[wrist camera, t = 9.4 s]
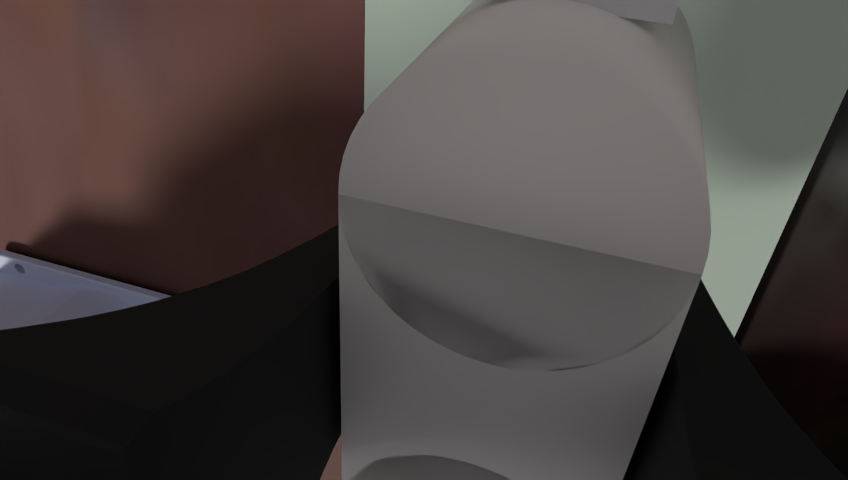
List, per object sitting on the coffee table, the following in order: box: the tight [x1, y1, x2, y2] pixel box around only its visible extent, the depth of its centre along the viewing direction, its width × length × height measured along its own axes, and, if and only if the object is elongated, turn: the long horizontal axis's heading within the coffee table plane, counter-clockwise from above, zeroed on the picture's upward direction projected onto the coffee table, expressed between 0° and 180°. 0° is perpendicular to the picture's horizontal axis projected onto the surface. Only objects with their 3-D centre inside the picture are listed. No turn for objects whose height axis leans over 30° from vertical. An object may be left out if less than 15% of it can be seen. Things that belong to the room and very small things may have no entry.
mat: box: [364, 0, 848, 337], centre depth 18 cm, size 12×16×1 cm
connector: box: [338, 0, 711, 480], centre depth 10 cm, size 4×13×5 cm, turn 176°
